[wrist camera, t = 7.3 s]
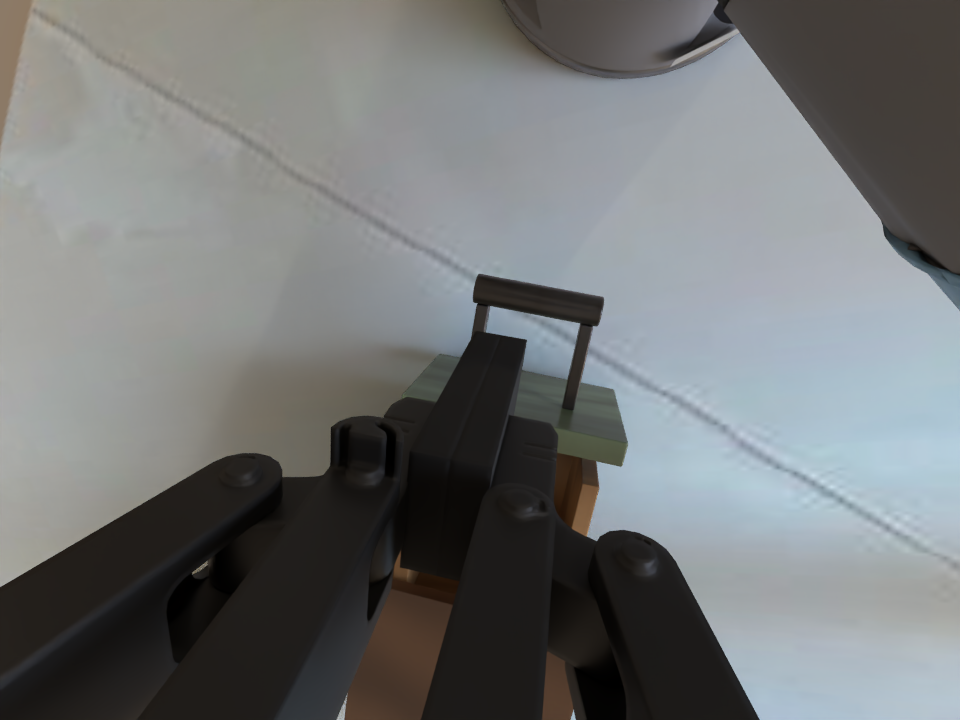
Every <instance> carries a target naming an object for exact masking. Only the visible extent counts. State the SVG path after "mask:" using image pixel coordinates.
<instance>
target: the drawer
mask: <svg viewBox="0 0 960 720" xmlns="http://www.w3.org/2000/svg"><path fill="white" fill-rule="evenodd" d="M473 302H474V303H478V304H477V307H476V313H475V319H474V325H473V331H472V337H473V335H474V333H475V331H480V332H485V333H486V328H487V322H488V316H489V310H490V306H493V307H499V308H504V309H509V310H514V311H519V312H524V313H530V314H535V315H540V316H545V317H550V318H555V319H560V320H566V321H571V322H576V323H580V327H579V331H578V335H577V340H576V344H575V349H574V353H573V358H572V362H571V367H570V371H569V375H568V380H565V379H560V378H556V377H551V376H546V375H541V374H536V373H531V372H526V371H522V372H521V377H520V383H519V389H518V395H517V401H516V407H515V412H514V416H517V417H523V418H528V419H533V420H538V421H543V422H548V423H551V425H552V426H553V428H554V429H555V431H556V433H557V434H558V448H557V460H556V475H555V489H554V506H555V510H556V512H557V514H558V516H559V517H560V518H561V519H562V520H563V522H564V523H566V524H567V525H568V526H569V527H571V528H572V529H573V530H575V531H577V532H579V533H580V534H582V535H584V536H586V537H587V533H588V530H589V526H590V522H591V518H592V514H593V510H594V506H595V503H596V499H597V495H598V491H599V481H598V473H597V464H596V461H598V462H602V463H607V464H611V465H616V466H620V467H621V466H622V465H623V461H624V458H625V454H626V450H627V447H628V441H627V438H626V434H625V430H624V426H623V423H622V419H621V415H620V411H619V407H618V404H617V400H616V396H615V392H614V390H613V389H609V388H604V387H599V386H594V385H590V384H585V383H580V382H581V378H582V374H583V369H584V365H585V361H586V356H587V352H588V348H589V343H590V339H591V335H592V331H593V326H598V325H599V322H600V319H601V315H602V311H603V305H604V298H603V297H600V296H595V295H589V294H584V293H579V292H574V291H568V290H563V289H558V288H552V287H547V286H542V285H536V284H531V283H526V282H520V281H515V280H510V279H504V278H499V277H494V276H488V275H483V274H478V276H477V279H476V282H475V286H474V292H473ZM472 337H471V339H472ZM459 360H460V358H458V357H453V356H449V355H444V354H439V355H438V356H437V357H436V358H435V359H434V361H433V362H432V363H431V364H430V365H429V366H428V367H427V368H426V369H425V370H424V372H423V373H422V374H421V375H420V376H419V377H418V378H417V379H416V380H415V381H414V383H413V384H412V385H411V386H410V387H409V388H408V389H407V390H406V391H405V393H404V394H403V395H402V399H403V398H405V397H412V398H417V399H422V400H427V401H433V402H437V400H438V398H439V397H440V395H441V393H442V391H443V389H444V387H445V386H446V384H447V382H448V380H449V378H450V377H451V375H452V373H453V371H454V369H455V368H456V366H457V364H458V362H459ZM400 558H401V551H400V553H399V555H398V558H397V560H396V562H395V564H394V570H393V579H397V580H401V581H405V582H409V583H413V584H417V585H421V586H425V587H429V588H433V589H437V590H441V591H445V592H449V593H453V594H456V592H457V588H458V584H459V581H456V580H452V579H447V578H443V577H439V576H434V575H430V574H426V573H422V572H417V571H413V570H409V569H404V568H400Z"/></svg>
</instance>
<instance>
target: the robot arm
mask: <svg viewBox="0 0 960 720" xmlns="http://www.w3.org/2000/svg"><path fill="white" fill-rule="evenodd" d="M501 1H502V3H503V5H504V7H505V8H506V10H507V12H508V14H509V15H510V17H511V18H512V19H513V21H514V22H515V24H516V25H517V26H518V28H519V29H520V30H521V31H522V32H523V33H524V34H525V36H526V37H527V38H528V39H529V40H530V41H531V42H533V43H534V44H535V45H536V46H537V47H538V48H539V49H541V50H542V51H543V52H545V53H546V54H547V55H549V56H550V57H552V58H553V59H555V60H557V61H558V62H560V63H562V64H564V65H566V66H568V67H571V68H573V69H575V70H578V71H581V72H584V73H587V74H591V75H596V76H601V77H607V78H618V79H625V78H641V77H649V76H654V75H658V74H663V73H667V72H670V71H673V70H676V69H679V68H681V67H684V66H686V65H688V64H691V63H693V62H695V61H697V60H699V59H701V58H702V57H704V56H706V55H708V54H710V53H711V52H713V51H714V50H716V49H717V48H719V47H720V46H722V45H723V44H725V43H726V42H727V41H729V40H730V39H731V38H732V37H733V36H735V35H736V34H739V33H741V35H742V36H743V37H744V39H745V40H746V41H747V42H748V44H749V45H750V46H751V48H752V49H753V50H754V52H755V53H756V54H757V56H758V57H759V58H760V60H761V61H762V62H763V64H764V65H765V66H766V68H767V69H768V70H769V72H770V73H771V74H772V76H773V77H774V78H775V80H776V81H777V82H778V84H779V85H780V86H781V88H782V89H783V90H784V92H785V93H786V94H787V96H788V97H789V98H790V100H791V101H792V102H793V104H794V105H795V106H796V108H797V109H798V110H799V112H800V113H801V114H802V116H803V117H804V118H805V120H806V121H807V122H808V124H809V125H810V126H811V128H812V129H813V130H814V132H815V133H816V134H817V136H818V137H819V138H820V140H821V141H822V142H823V144H824V145H825V146H826V148H827V149H828V150H829V152H830V153H831V154H832V156H833V157H834V158H835V160H836V161H837V162H838V164H839V165H840V166H841V167H842V169H843V170H844V171H845V173H846V174H847V175H848V177H849V178H850V179H851V181H852V182H853V183H854V185H855V186H856V187H857V189H858V190H859V191H860V193H861V194H862V195H863V197H864V198H865V199H866V201H867V202H868V203H869V205H870V206H871V207H872V209H873V210H874V211H875V213H876V214H877V215H878V217H879V218H880V219H881V222H882V224H883V230H884V236H885V237H886V239H887V240H888V242H889V243H890V244H891V246H892V247H893V248H894V249H895V250H896V252H897V253H898V254H899V255H900V256H902V257H903V258H904V259H905V260H907V261H908V262H909V263H910V264H912V265H913V266H914V267H916V268H918V269H920V270H922V271H924V272H926V273H928V275H929V276H930V277H931V278H932V279H933V280H934V281H935V283H936V284H937V285H938V286H939V287H940V288H941V289H942V291H943V292H944V293H945V294H946V295H947V296H948V298H949V299H950V300H951V301H952V302H953V303H954V304H955V306H956V307H957V308H958V309H959V310H960V0H501ZM526 342H527V340H524V339H519V338H513V337H508V336H502V335H496V334H491V333H485V332H480V331H475V333H474V335H473V337H472V339H471V340H470V342H469V344H468V346H467V348H466V349H465V351H464V353H463V355H462V357H461V358H460V360H459V362H458V364H457V366H456V368H455V369H454V371H453V373H452V375H451V377H450V378H449V380H448V382H447V384H446V386H445V387H444V389H443V391H442V393H441V395H440V397H439V398H438V400H437V402H433V401H427V400H422V399H417V398H412V397H405V398H403V399H401V400H400V401H398V402H396V403H394V404H392V405H391V407H390V408H389V410H388V411H387V412H386V414H385V415H384V418H381V417H373V416H358V417H351V418H348V419H345V420H342V421H339V422H338V423H336V424H335V425H334V426H332V427H331V462H330V467H329V469H328V470H327V471H326V473H325V474H324V475H323V476H316V477H282V469H281V466H280V464H279V462H277V461H276V460H274V459H273V458H271V457H270V456H266V455H262V454H258V453H241V454H236V455H231V456H227V457H224V458H222V459H220V460H217V461H215V462H213V463H211V464H209V465H208V466H206V467H204V468H203V469H201V470H199V471H198V472H196V473H194V474H192V475H191V476H189V477H187V478H186V479H184V480H182V481H180V482H179V483H177V484H175V485H174V486H172V487H170V488H169V489H167V490H165V491H163V492H162V493H160V494H158V495H157V496H155V497H153V498H152V499H150V500H148V501H146V502H145V503H143V504H141V505H140V506H138V507H136V508H134V509H133V510H131V511H129V512H128V513H126V514H124V515H123V516H121V517H119V518H117V519H116V520H114V521H112V522H111V523H109V524H107V525H106V526H104V527H102V528H100V529H99V530H97V531H95V532H94V533H92V534H90V535H88V536H87V537H85V538H83V539H82V540H80V541H78V542H77V543H75V544H73V545H71V546H70V547H68V548H66V549H65V550H63V551H61V552H60V553H58V554H56V555H54V556H53V557H51V558H49V559H48V560H46V561H44V562H42V563H41V564H39V565H37V566H36V567H34V568H32V569H31V570H29V571H27V572H25V573H24V574H22V575H20V576H19V577H17V578H15V579H14V580H12V581H10V582H8V583H7V584H5V585H3V586H2V587H0V720H336V719H337V717H338V714H339V712H340V710H341V707H342V705H343V702H344V700H345V698H346V695H347V693H348V690H349V688H350V686H351V683H352V681H353V679H354V676H355V674H356V671H357V669H358V667H359V664H360V662H361V659H362V657H363V655H364V652H365V650H366V647H367V645H368V643H369V640H370V638H371V636H372V633H373V631H374V628H375V626H376V624H377V621H378V619H379V616H380V614H381V612H382V609H383V607H384V605H385V602H386V600H387V597H388V595H389V593H390V590H391V586H392V580H393V569H394V564H395V562H396V560H397V558H398V555H399V553H400V551H401V558H400V568H404V569H409V570H413V571H417V572H422V573H426V574H430V575H434V576H439V577H443V578H447V579H452V580H456V581H459V584H458V588H457V592H456V595H455V599H454V602H453V606H452V610H451V613H450V617H449V620H448V624H447V627H446V631H445V635H444V638H443V642H442V645H441V649H440V653H439V656H438V660H437V663H436V667H435V671H434V674H433V678H432V681H431V685H430V689H429V692H428V696H427V699H426V703H425V706H424V710H423V714H422V717H421V720H542V715H543V701H544V686H545V672H546V657H547V651H548V652H550V653H551V654H553V655H555V656H556V657H558V658H560V659H562V660H563V661H565V672H566V677H567V681H568V686H569V690H570V695H571V699H572V704H573V708H574V713H575V717H576V720H759V718H758V716H757V714H756V712H755V710H754V708H753V706H752V705H751V703H750V701H749V699H748V697H747V695H746V693H745V691H744V690H743V688H742V686H741V684H740V682H739V680H738V678H737V676H736V674H735V673H734V671H733V669H732V667H731V665H730V663H729V661H728V659H727V658H726V656H725V654H724V652H723V650H722V648H721V646H720V644H719V642H718V641H717V639H716V637H715V635H714V633H713V631H712V629H711V627H710V625H709V624H708V622H707V620H706V618H705V616H704V614H703V612H702V610H701V609H700V607H699V605H698V603H697V601H696V599H695V597H694V595H693V593H692V592H691V590H690V588H689V586H688V584H687V582H686V580H685V578H684V576H683V575H682V573H681V571H680V569H679V567H678V565H677V563H676V561H675V560H674V559H673V557H672V556H671V555H670V553H669V552H668V551H667V550H666V549H665V548H664V547H663V546H661V545H660V544H659V543H657V542H656V541H655V540H653V539H651V538H649V537H646V536H644V535H642V534H640V533H636V532H631V531H626V530H619V531H609V532H608V533H606V534H604V535H602V536H600V537H599V539H598V541H595V540H593V539H591V538H588V537H586V536H584V535H582V534H580V533H579V532H577V531H575V530H573V529H572V528H571V527H569V526H568V525H567V524H566V523H564V522H563V520H562V519H561V518H560V517H559V516H558V514H557V512H556V510H555V506H554V489H555V475H556V460H557V448H558V434H557V433H556V431H555V429H554V428H553V426H552V425H551V423H548V422H543V421H538V420H533V419H528V418H523V417H517V416H514V412H515V407H516V401H517V395H518V389H519V383H520V377H521V372H522V366H523V360H524V354H525V348H526ZM207 560H208V565H207V566H206V567H205V568H203V569H202V570H201V571H199V572H197V573H195V574H193V575H192V572H193V571H195V570H196V569H197V568H198V567H200V566H201V565H202V564H204V563H205V562H206V561H207Z"/></svg>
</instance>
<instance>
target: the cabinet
mask: <svg viewBox="0 0 960 720" xmlns="http://www.w3.org/2000/svg"><path fill="white" fill-rule="evenodd" d="M393 570H394V569H393ZM455 595H456V594H453V593H449V592H445V591H441V590H437V589H433V588H429V587H425V586H421V585H417V584H413V583H409V582H405V581H401V580H397V579H393V580H392V586H391V590H390V593H389V595H388V597H387V600H386V602H385V605H384V607H383V609H382V612H381V614H380V616H379V619H378V621H377V624H376V626H375V628H374V631H373V633H372V636H371V638H370V640H369V643H368V645H367V647H366V650H365V652H364V655H363V657H362V659H361V662H360V664H359V667H358V669H357V671H356V674H355V676H354V679H353V681H352V683H351V686H350V688H349V690H348V695H347V703H346V711H345V720H421V717H422V714H423V710H424V706H425V703H426V699H427V696H428V692H429V689H430V685H431V681H432V678H433V674H434V671H435V667H436V663H437V660H438V656H439V653H440V649H441V645H442V642H443V638H444V635H445V631H446V627H447V624H448V620H449V617H450V613H451V610H452V606H453V602H454V599H455ZM573 709H574V708H573V704H572V699H571V695H570V690H569V686H568V681H567V677H566V672H565V661H563V660H562V659H560V658H558V657H556V656H555V655H553V654H551V653H550V652H548V651H547V657H546V672H545V686H544V701H543V715H542V720H571V716H572V713H573Z"/></svg>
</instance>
